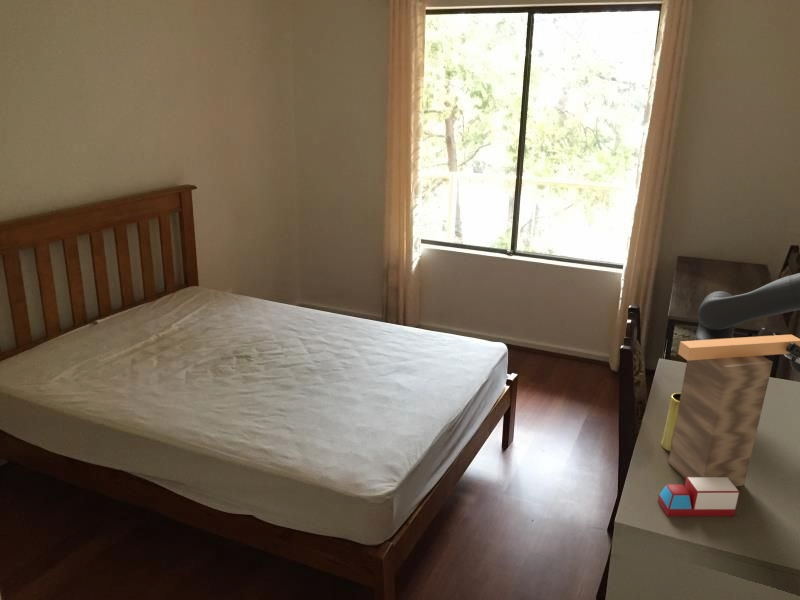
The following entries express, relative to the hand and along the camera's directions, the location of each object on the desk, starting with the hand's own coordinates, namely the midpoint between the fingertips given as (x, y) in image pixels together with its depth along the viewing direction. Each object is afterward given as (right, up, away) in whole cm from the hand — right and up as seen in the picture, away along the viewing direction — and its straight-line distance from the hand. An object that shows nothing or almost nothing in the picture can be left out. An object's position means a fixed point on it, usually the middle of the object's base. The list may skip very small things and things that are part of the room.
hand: (774, 338), depth 150 cm
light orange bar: (-9, -3, -2) cm, 10 cm away
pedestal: (-12, -33, +9) cm, 36 cm away
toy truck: (-20, -38, -3) cm, 43 cm away
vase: (-15, -29, +20) cm, 39 cm away
